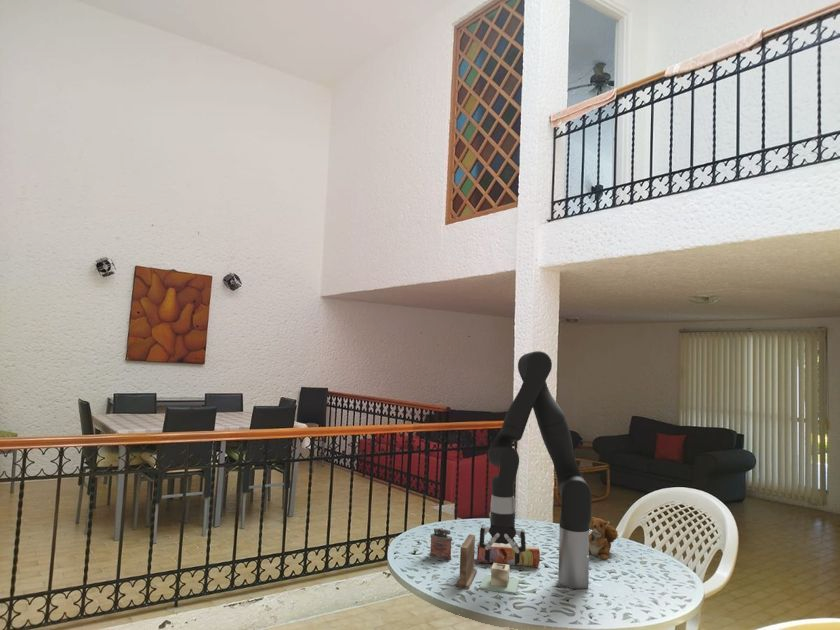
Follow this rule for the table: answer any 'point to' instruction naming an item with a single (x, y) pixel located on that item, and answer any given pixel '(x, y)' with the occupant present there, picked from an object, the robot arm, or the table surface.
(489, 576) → the sage pad
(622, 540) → the table surface
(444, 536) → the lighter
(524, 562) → the snack package
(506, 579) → the letter cube
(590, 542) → the stuffed squirrel
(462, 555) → the walnut screen
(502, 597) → the table surface
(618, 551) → the table surface
